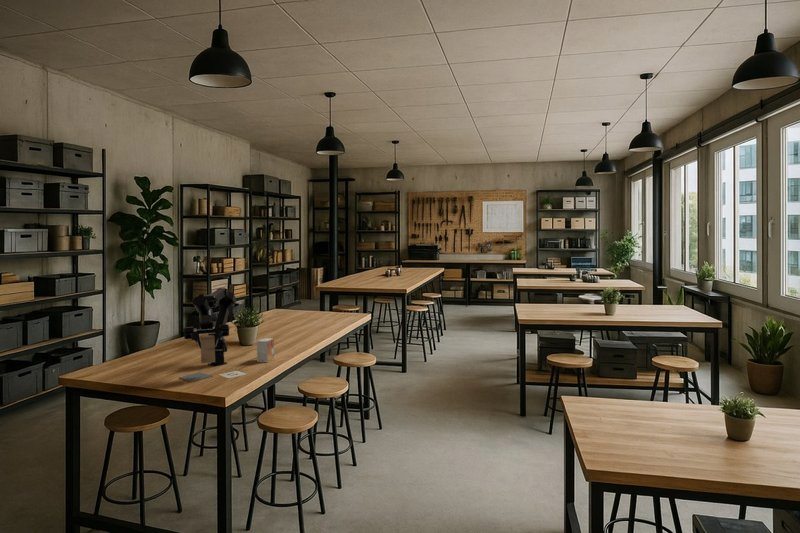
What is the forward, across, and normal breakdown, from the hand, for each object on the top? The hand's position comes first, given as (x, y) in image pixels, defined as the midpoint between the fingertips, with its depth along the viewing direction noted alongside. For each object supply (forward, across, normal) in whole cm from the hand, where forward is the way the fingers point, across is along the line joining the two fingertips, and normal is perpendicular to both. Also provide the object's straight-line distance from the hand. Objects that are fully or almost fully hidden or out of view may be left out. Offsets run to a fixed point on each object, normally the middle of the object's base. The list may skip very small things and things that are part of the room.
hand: (207, 347), depth 226 cm
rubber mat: (+7, -5, +12) cm, 15 cm away
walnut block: (+4, 0, +6) cm, 7 cm away
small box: (-6, +27, +26) cm, 38 cm away
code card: (+8, +10, +11) cm, 17 cm away
